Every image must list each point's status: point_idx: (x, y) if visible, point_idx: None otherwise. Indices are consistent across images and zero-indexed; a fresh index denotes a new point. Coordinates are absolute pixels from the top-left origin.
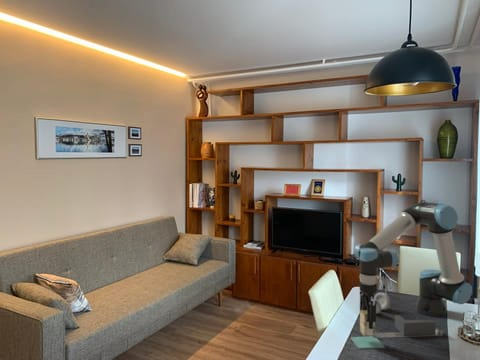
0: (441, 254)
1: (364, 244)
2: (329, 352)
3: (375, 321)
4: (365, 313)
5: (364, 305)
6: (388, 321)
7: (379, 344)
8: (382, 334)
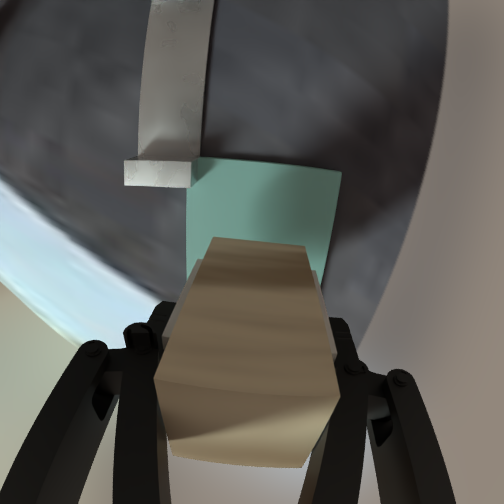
0: None
1: None
2: None
3: (411, 379)
4: (280, 459)
5: (169, 495)
6: (31, 10)
7: (308, 190)
8: (164, 89)
